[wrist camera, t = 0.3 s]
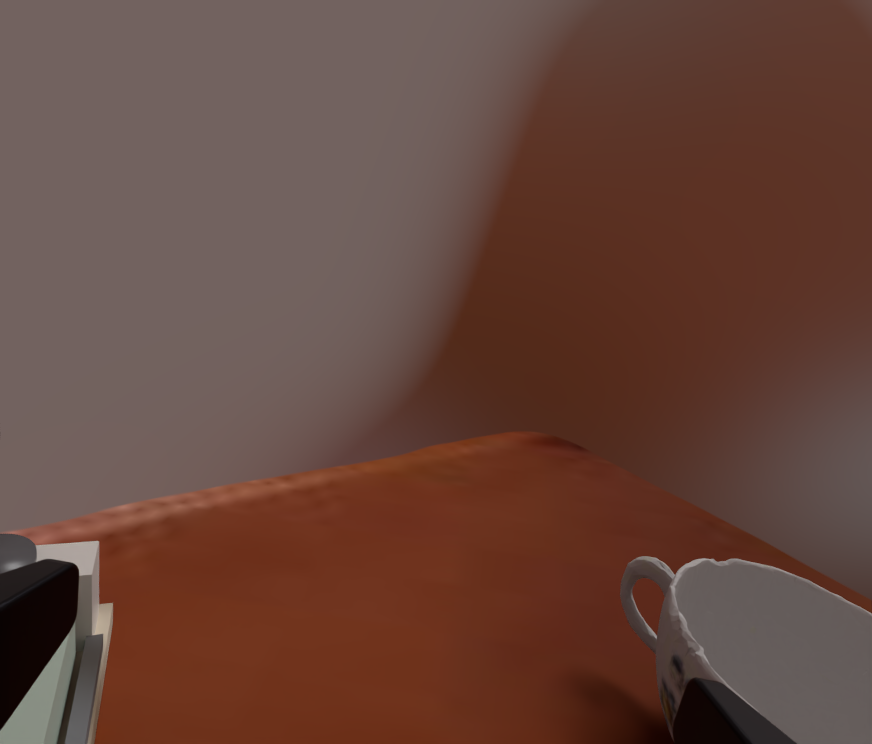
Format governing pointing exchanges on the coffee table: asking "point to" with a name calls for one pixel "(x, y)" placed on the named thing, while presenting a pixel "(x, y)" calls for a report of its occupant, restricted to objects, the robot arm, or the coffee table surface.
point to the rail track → (87, 684)
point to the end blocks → (21, 551)
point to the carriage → (43, 701)
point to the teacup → (761, 645)
